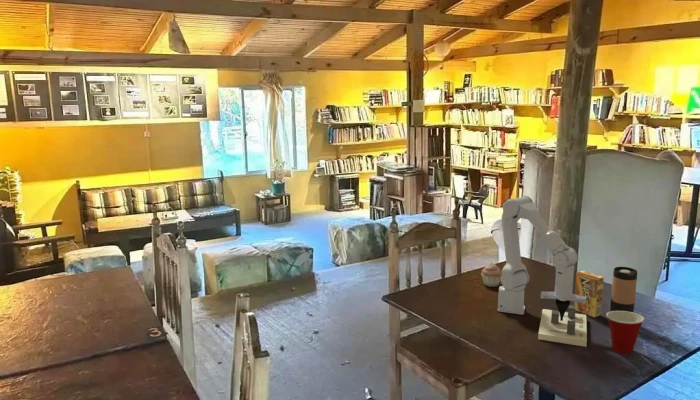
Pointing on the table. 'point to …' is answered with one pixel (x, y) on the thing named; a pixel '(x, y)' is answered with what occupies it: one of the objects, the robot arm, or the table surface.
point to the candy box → (589, 293)
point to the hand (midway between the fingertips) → (561, 319)
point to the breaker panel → (563, 329)
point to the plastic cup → (624, 330)
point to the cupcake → (491, 275)
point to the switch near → (571, 327)
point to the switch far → (571, 311)
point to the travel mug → (623, 289)
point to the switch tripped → (555, 316)
